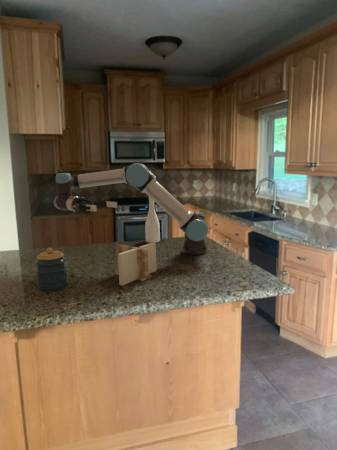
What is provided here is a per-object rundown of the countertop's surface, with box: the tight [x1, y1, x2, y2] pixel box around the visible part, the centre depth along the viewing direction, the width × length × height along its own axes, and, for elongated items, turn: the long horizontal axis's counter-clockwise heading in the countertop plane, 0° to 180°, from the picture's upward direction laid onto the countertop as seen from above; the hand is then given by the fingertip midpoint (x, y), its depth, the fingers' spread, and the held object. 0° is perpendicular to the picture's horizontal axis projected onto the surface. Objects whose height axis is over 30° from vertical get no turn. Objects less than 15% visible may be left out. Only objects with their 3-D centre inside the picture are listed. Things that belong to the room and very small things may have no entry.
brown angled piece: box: [116, 243, 152, 282], centre depth 161 cm, size 18×6×14 cm, turn 54°
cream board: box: [118, 242, 157, 286], centre depth 158 cm, size 24×2×14 cm, turn 144°
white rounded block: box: [144, 196, 161, 244], centre depth 226 cm, size 10×10×30 cm
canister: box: [34, 247, 69, 293], centre depth 149 cm, size 13×13×18 cm
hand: (106, 206), depth 164 cm, fingers open, 13 cm apart
